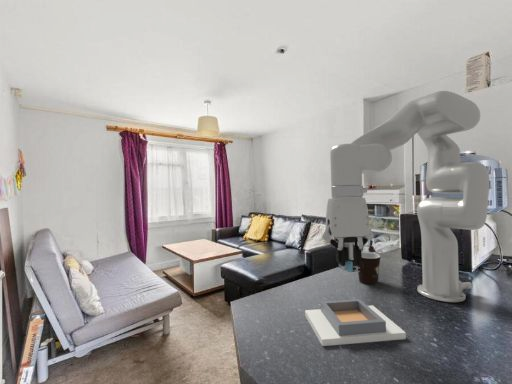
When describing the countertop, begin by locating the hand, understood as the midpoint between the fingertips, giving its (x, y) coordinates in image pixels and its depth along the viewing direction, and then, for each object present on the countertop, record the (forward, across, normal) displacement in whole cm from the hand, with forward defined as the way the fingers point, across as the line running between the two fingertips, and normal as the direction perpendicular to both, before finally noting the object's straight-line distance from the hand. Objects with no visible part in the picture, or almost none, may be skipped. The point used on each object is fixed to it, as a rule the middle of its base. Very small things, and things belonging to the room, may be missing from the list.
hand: (348, 263), depth 64 cm
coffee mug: (+16, -19, -28) cm, 38 cm away
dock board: (+16, 0, 0) cm, 16 cm away
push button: (+2, 0, 0) cm, 2 cm away
